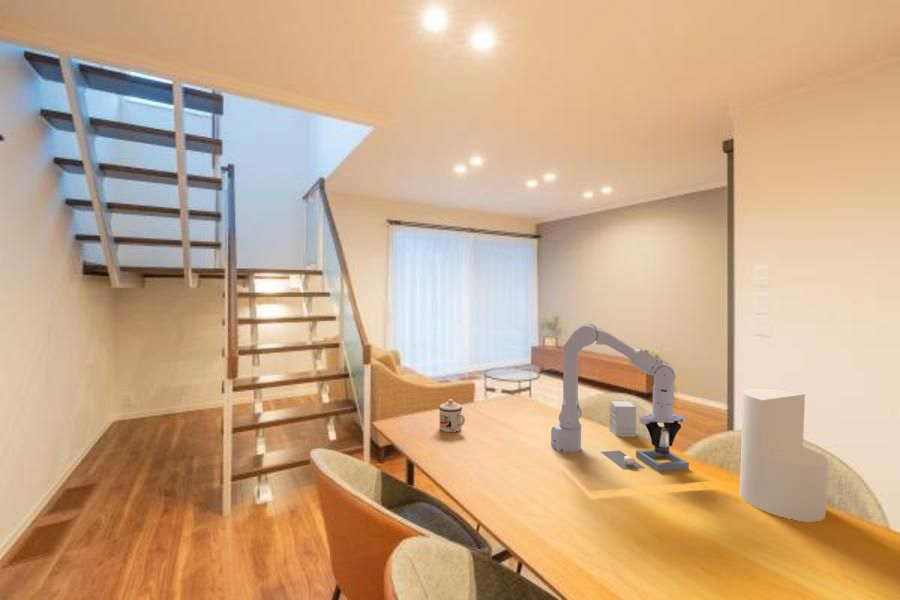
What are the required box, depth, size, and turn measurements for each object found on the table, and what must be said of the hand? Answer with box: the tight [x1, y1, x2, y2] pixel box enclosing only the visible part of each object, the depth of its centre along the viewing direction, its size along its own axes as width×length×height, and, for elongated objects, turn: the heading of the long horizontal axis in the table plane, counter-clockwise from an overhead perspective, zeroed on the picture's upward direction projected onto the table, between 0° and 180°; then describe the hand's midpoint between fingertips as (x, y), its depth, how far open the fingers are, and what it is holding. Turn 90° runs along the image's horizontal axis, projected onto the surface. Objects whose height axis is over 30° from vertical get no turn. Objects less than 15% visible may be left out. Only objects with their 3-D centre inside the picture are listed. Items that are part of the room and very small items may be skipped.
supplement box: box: [609, 400, 637, 438], centre depth 150 cm, size 7×7×13 cm
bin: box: [635, 449, 690, 472], centre depth 125 cm, size 10×10×4 cm
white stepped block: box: [739, 388, 829, 523], centre depth 104 cm, size 17×17×28 cm
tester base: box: [600, 450, 645, 471], centre depth 127 cm, size 13×7×2 cm, turn 9°
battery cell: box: [653, 425, 670, 454], centre depth 125 cm, size 4×4×8 cm
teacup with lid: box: [438, 398, 466, 433], centre depth 156 cm, size 12×9×12 cm
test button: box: [624, 455, 636, 465], centre depth 123 cm, size 3×3×2 cm
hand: (661, 445), depth 125 cm, fingers closed on battery cell, 4 cm apart
